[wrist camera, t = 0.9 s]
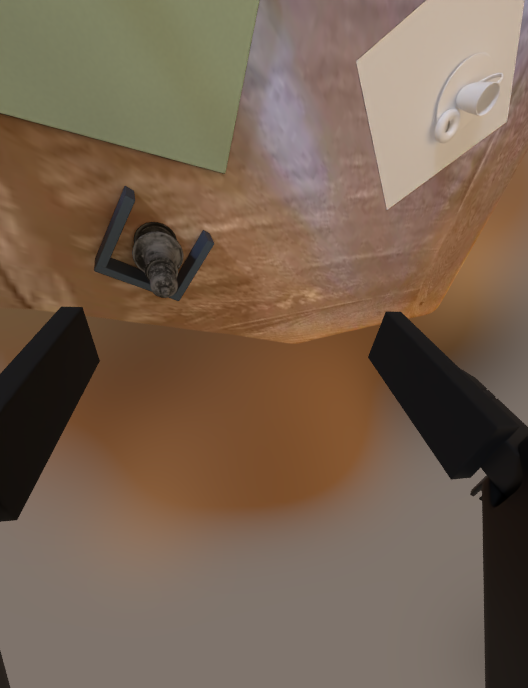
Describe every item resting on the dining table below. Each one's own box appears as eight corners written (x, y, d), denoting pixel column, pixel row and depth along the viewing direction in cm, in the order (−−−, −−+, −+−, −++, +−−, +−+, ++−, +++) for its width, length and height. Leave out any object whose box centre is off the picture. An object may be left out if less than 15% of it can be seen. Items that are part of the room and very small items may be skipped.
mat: (-25, 104, 24) (-29, 105, 23) (-135, -302, 14) (-144, -315, 13) (223, 171, 34) (225, 174, 33) (264, -37, 24) (267, -39, 23)
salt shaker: (188, 239, 38) (206, 289, 30) (162, 270, 40) (173, 325, 32) (148, 209, 34) (157, 259, 26) (121, 245, 36) (122, 302, 28)
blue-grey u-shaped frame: (95, 258, 36) (93, 271, 34) (124, 185, 31) (125, 195, 29) (176, 289, 43) (179, 301, 41) (209, 233, 38) (214, 243, 36)
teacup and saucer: (429, 150, 41) (451, 158, 38) (426, 89, 35) (451, 93, 32) (487, 107, 39) (514, 112, 36) (494, 34, 33) (526, 33, 31)
